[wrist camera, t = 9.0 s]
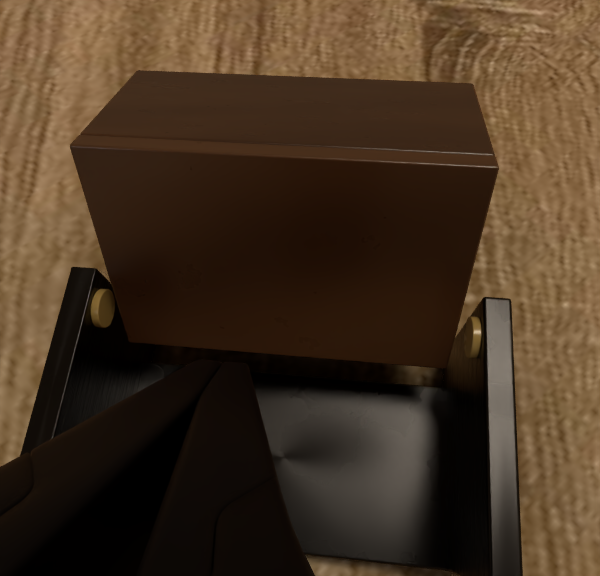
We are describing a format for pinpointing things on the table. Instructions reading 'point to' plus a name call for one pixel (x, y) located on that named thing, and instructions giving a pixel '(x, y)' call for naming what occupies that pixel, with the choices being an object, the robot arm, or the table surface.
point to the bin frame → (340, 438)
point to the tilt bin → (290, 212)
